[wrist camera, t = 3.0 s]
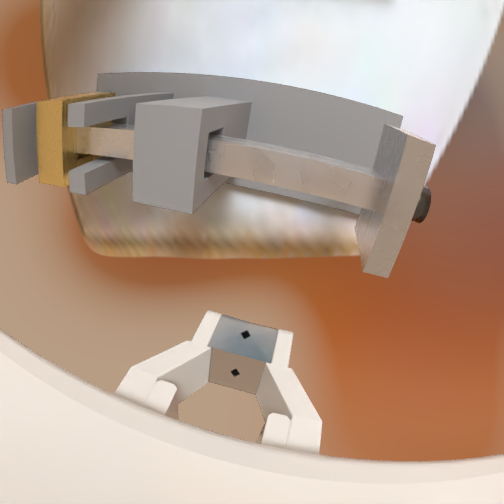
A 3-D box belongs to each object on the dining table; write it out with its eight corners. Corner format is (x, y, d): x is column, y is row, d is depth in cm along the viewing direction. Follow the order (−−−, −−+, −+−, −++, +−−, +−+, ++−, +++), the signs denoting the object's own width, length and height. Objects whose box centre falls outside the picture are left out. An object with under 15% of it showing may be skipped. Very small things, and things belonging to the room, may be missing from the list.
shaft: (75, 85, 20) (24, 93, 15) (426, 137, 18) (461, 155, 12) (74, 169, 24) (29, 192, 19) (393, 238, 22) (410, 283, 16)
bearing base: (103, 73, 26) (-1, 85, 14) (400, 115, 23) (468, 138, 11) (99, 158, 31) (7, 204, 19) (372, 214, 28) (401, 305, 16)
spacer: (89, 92, 21) (36, 101, 16) (115, 92, 21) (62, 99, 16) (88, 160, 25) (39, 182, 19) (112, 163, 24) (64, 187, 19)
